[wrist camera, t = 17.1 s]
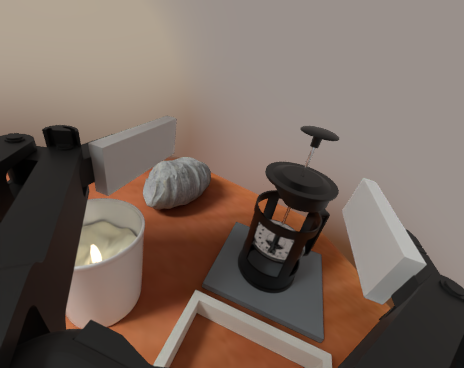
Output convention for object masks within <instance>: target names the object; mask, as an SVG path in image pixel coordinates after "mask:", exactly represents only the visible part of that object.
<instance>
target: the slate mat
mask: <svg viewBox="0 0 464 368" xmlns="http://www.w3.org/2000/svg"><path fill="white" fill-rule="evenodd" d="M249 229H250V227H248V226H246V225H243V224H241V223H238V222H236V223H235V225H234V227H233V229H232V231H231V233H230V234H229V236H228V238H227V240H226V242H225V243H224V245H223V247H222V249H221V251H220V253H219V254H218V256H217V258H216V260H215V262H214V264H213V265H212V267H211V269H210V271H209V273H208V274H207V276H206V278H205V280H204V282H203V285H202V287H203V288H205V289H207V290H209V291H211V292H213V293H215V294H218V295H220V296H222V297H224V298H226V299H228V300H230V301H232V302H234V303H237V304H239V305H241V306H243V307H245V308H247V309H249V310H251V311H254V312H256V313H258V314H260V315H262V316H264V317H266V318H268V319H271V320H273V321H275V322H277V323H279V324H281V325H283V326H285V327H287V328H290V329H292V330H294V331H296V332H298V333H300V334H302V335H304V336H307V337H309V338H311V339H313V340H315V341H317V342H319V343H321V342H322V341H323V340H324V335H323V296H322V257H321V254H318V253H316V252H313V251H310V253H309V255H308V256H302V257H301V258H300V259H299V261H300V264H299V268H298V270H297V272H296V274H295V277H294V281H293V283H292V285H291V286H290V287H289V288H288V289H287V290H285V291H283V292H280V293H266V292H263V291H260V290H258V289H256V288H254V287H253V286H251V285H250V284H249V283H248V282H247V281H246V280H245V279H244V278H243V276H242V275H241V273H240V270H239V267H238V256H239V253H240V252H241V250H242V248H243V245H244V241H245V240H246V238H247V235H248V232H249ZM247 259H248V260H249V262H250V263H251V264H252V265H253V266H254V267H255V268H256V269H258V270H259V271H261V272H263V273H264V274H267V275H270V276H274V277H277V276H278V274H279V272H280V270H281V268H282V265H283V264H280V263H276V262H273V261H271V260H269V259H267V258H265V257H263V256H262V255H260V254H259V253H258V252H257V251H256V250H255V249H254V250H252V251H250V252H249V255H248V258H247Z"/></svg>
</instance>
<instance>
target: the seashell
mask: <svg viewBox="0 0 464 368" xmlns="http://www.w3.org/2000/svg"><path fill="white" fill-rule="evenodd" d="M210 180H211V171H210V169H209V168H208V166H207V165H206V164H205V163H203V162H199V161H197V160H196V159H193V158H189V157H183V158H180V159H176V160H173V161H162V162H160V163H158V164H157V165H155V166H154V168H153V170H152V171H151V172H150V173H149V178H148V179H146V182H145V185H144V189H143V196H144V199H145V202H146V204H147V206H149V207H153V208H154V209H163V208H166V209H170V208H173V207H175V206H179V205H186V204H188V203H189V202H191V201H193V200H195V199H196V198H198V197H199V196H201V194H202V193H203V191H204V190H205V189H206V188H207V187H208V186H209V184H210Z"/></svg>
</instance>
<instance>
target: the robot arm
mask: <svg viewBox="0 0 464 368" xmlns="http://www.w3.org/2000/svg"><path fill="white" fill-rule="evenodd" d="M176 121H177V119H176V118H173V117H170V116H165V117H162V118H159V119H156V120H153V121H150V122H147V123H145V124H142V125H139V126H136V127H133V128H130V129H127V130H125V131H121V132H119V133H116V134H111V135H109V136H106V137H103V138H100V139H97V140H94V141H91V142H88V143H86V144H82V145H81V143H80V137H79V132H78V129H77V128H75V127H72V126H65V125H55V126H49V127H45V128H44V129H43V130H42V131H43V134H44V138H45V141H46V145H47V147H40V146H36V144H35V141H34V138H33V137H32V136H30V135H26V134H19V133H14V134H8V135H3V136H0V368H166V367H159V366H153V365H150V364H149V363H148V362H147V361H146V360H145V359H144V358H143V357H142V356H141V355H140V354H139V353H138V352H137V351H136V350H135V348H134V347H133V346H132V345H131V344H130V343H129V342H128V341H127V340H126V339H125V338H124V337H123V335H121V334H119V333H117V332H115V331H113V330H111V329H109V328H107V327H105V326H103V325H101V324H99V323H97V322H95V321H93V320H90V321H89V322H88V323H87V324H86V326H85V327H84V328H83V329H67V330H66V322H65V314H66V307H67V302H68V297H69V292H70V287H71V282H72V277H73V272H74V266H75V261H76V256H77V251H78V246H79V241H80V236H81V231H82V226H83V220H84V215H85V210H86V205H87V200H88V195H89V187H88V185H89V184H91V183H93V182H95V188H96V191H97V192H99V193H102V194H105V195H107V196H109V195H111V194H112V193H114V192H115V191H117V190H118V189H120V188H121V187H123V186H124V185H126V184H127V183H129V182H131V181H132V180H134V179H135V178H137V177H138V176H140V175H141V174H143V173H144V172H146V171H148V170H149V169H151V168H152V167H154V166H155V165H157V164H158V163H160V162H161V161H163V160H164V159H166V158H168V157H169V156H171V155H172V154H174V148H175V134H176ZM7 173H8V176H9V178H10V180H9V181H8V182H7V180H6V174H7ZM342 212H343V216H344V220H345V224H346V228H347V232H348V236H349V240H350V244H351V248H352V252H353V256H354V260H355V263H356V267H357V271H358V275H359V279H360V283H361V287H362V291H363V295H364V298H367V299H369V300H372V301H374V302H377V303H379V304H382V305H383V304H384V303H385V302H386V301H387V300H388V299H389V298H390V297H392V300H393V302H394V305H395V306H394V307H393V308H391V309H390V310H389V311H388V312H387V313H386V314H384V315H383V316H382V317H381V318H380V319H379V320H380V321H379V322H378V323H377V325H376V326H375V327H374V328H373V329H372V330H371V331H370V332H369V333H368V335H367V336H366V337H365V338H364V339H363V340H362V341H361V342H360V343H359V345H358V346H357V347H356V348H355V349H354V350H353V351H352V352H351V353H350V354H349V356H348V357H347V358H346V359H345V360H344V361H343V362H342V363H341V364H340V366H339V367H338V368H464V289H463V288H462V287H461V286H460V285H458V284H457V283H455V282H454V281H453V280H451V279H449V278H447V277H445V276H442V275H440V274H439V272H438V270H437V269H436V267H435V266H434V264H433V263H432V261H431V260H430V258H429V256H428V255H426V252H425V250H424V249H423V248H422V246H421V244H420V243H419V241H418V240H417V238H416V237H415V236H413V234H412V233H410V232H409V231H408V230H406V229H405V228H404V227H403V226H402V223H401V222H400V220H399V219H398V217H397V215H396V214H395V212H394V210H393V209H392V207H391V206H390V204H389V202H388V201H387V199H386V197H385V196H384V194H383V193H382V191H381V189H380V188H379V186H378V184H377V183H376V182H375V181H372V180H369V179H366V178H363V179H362V180H361V182H360V184H359V185H358V187H357V188H356V190H355V192H354V193H353V195H352V196H351V198H350V199H349V201H348V203H347V204H346V206H345V207H344V209H343V210H342Z"/></svg>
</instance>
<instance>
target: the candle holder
mask: <svg viewBox="0 0 464 368" xmlns="http://www.w3.org/2000/svg"><path fill="white" fill-rule="evenodd" d="M144 229H145V220H144V216H143V214H142V213H141V211H140V210H139V209H138V208H137V207H135V206H134V205H132V204H130V203H128V202H125V201H122V200H117V199H107V198H101V199H90V200H87V205H86V210H85V215H84V220H83V226H82V231H81V236H80V241H79V246H78V251H77V256H76V261H75V266H74V272H73V277H72V282H71V287H70V292H69V297H68V302H67V307H66V314H65V315H66V316H67V318H68V319H69V320H70V322H71V323H72V324H74V325H75V326H77V327H79V328H82V329H83V328H84V327H85V326H86V324H87V323H88V322H89V321H90V320H93V321H95V322H97V323H99V324H101V325H103V326H105V327H108V326H110V325H113V324H115V323H116V322H118V321H120V320H121V319H122V318H124V317H125V316H126V315H127V314H128V313H129V312H130V311H131V310H132V309H133V308H134V306H135V305H136V303H137V301H138V299H139V296H140V293H141V287H142V268H143V243H144Z"/></svg>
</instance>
